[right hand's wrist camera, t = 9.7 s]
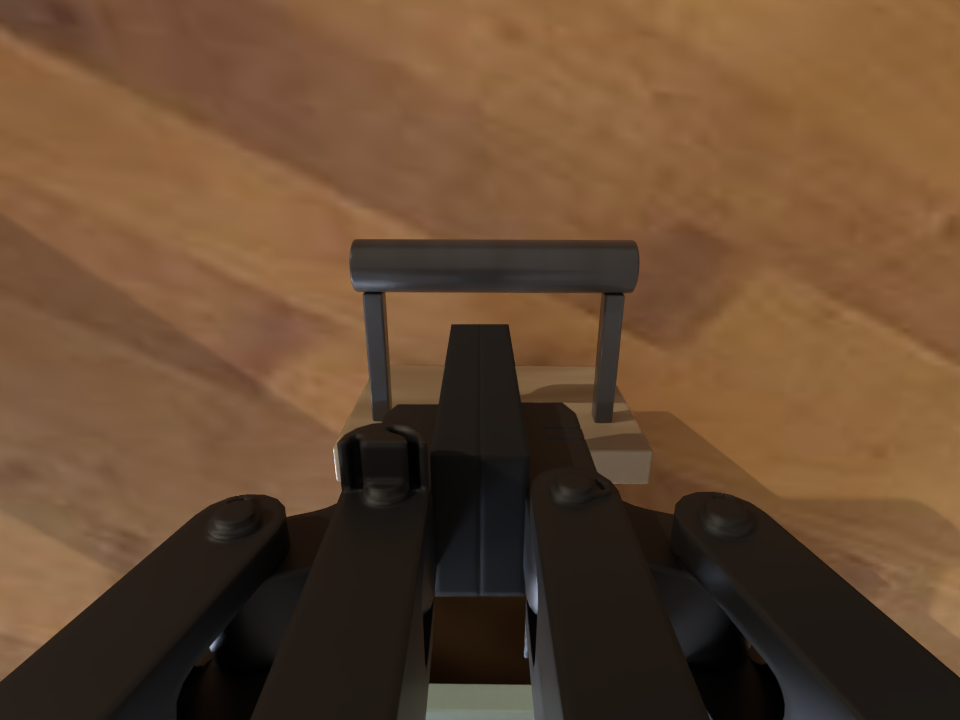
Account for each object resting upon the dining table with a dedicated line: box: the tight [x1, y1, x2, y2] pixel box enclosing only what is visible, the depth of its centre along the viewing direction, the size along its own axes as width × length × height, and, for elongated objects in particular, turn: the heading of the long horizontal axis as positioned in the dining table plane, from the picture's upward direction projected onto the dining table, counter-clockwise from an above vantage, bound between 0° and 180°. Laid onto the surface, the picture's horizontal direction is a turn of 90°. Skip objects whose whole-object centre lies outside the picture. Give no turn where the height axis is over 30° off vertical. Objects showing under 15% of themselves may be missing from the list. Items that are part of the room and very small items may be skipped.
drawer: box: [333, 239, 653, 685], centre depth 22 cm, size 25×10×7 cm, turn 0°
